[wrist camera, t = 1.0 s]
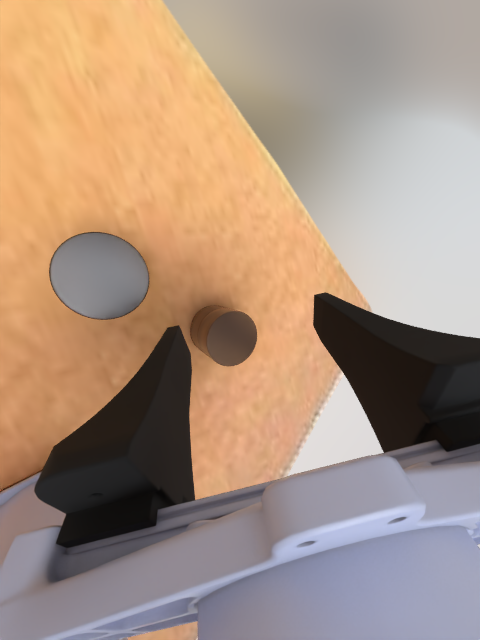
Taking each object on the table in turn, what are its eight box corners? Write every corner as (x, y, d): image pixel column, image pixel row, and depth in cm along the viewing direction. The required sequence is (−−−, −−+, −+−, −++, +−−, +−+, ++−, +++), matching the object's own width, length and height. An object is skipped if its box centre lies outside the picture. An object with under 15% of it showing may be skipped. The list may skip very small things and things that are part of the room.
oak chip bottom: (198, 359, 26) (206, 366, 23) (183, 314, 24) (190, 318, 22) (239, 341, 28) (249, 346, 26) (228, 299, 26) (238, 301, 24)
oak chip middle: (223, 368, 24) (233, 376, 22) (186, 338, 22) (194, 344, 20) (253, 329, 25) (266, 334, 23) (221, 297, 23) (233, 299, 21)
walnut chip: (78, 325, 16) (73, 332, 14) (41, 246, 14) (29, 241, 12) (154, 301, 18) (160, 304, 16) (129, 230, 17) (132, 224, 14)
